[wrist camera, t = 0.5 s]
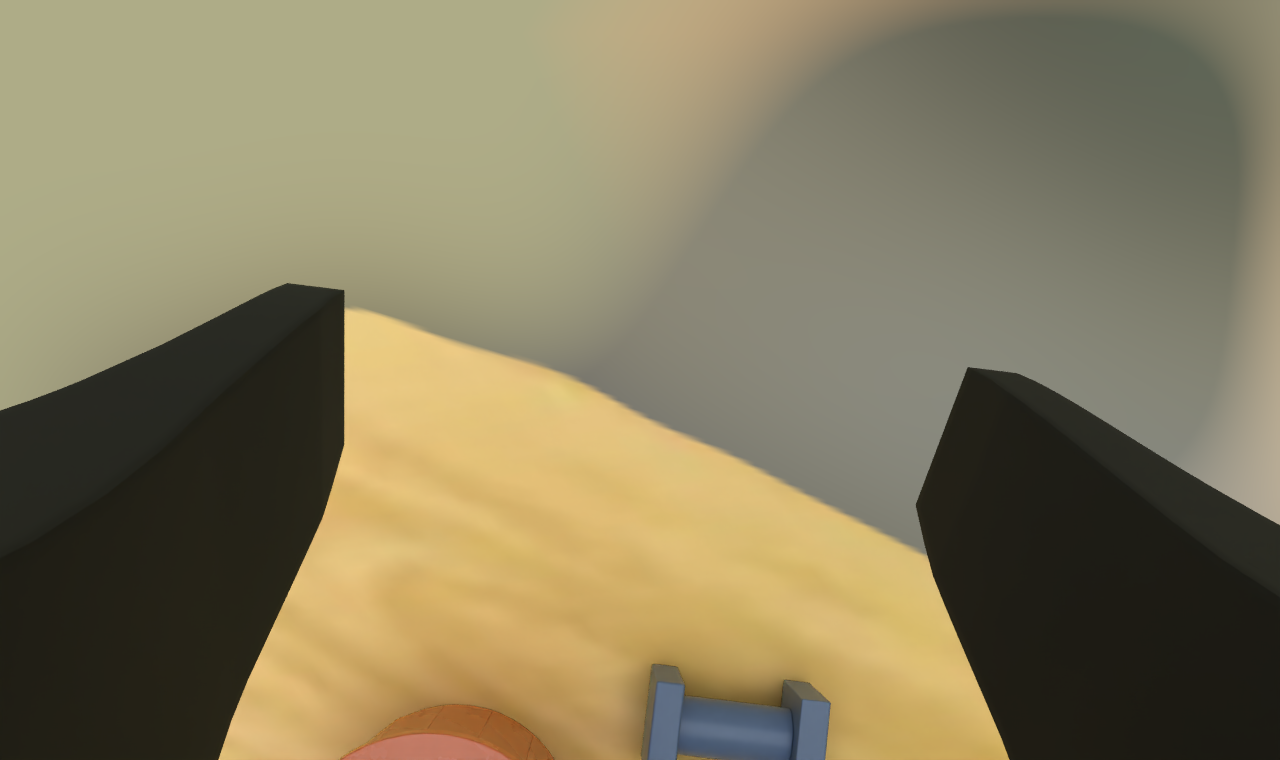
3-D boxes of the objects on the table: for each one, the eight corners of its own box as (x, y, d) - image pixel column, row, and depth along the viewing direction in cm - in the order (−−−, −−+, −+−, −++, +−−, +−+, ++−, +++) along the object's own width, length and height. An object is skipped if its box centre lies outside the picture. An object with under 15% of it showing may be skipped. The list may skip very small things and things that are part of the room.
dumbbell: (809, 682, 36) (831, 702, 32) (800, 775, 35) (820, 805, 32) (651, 663, 36) (656, 681, 32) (640, 756, 35) (644, 784, 32)
